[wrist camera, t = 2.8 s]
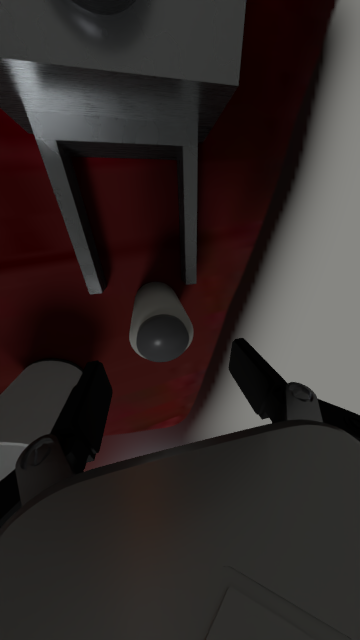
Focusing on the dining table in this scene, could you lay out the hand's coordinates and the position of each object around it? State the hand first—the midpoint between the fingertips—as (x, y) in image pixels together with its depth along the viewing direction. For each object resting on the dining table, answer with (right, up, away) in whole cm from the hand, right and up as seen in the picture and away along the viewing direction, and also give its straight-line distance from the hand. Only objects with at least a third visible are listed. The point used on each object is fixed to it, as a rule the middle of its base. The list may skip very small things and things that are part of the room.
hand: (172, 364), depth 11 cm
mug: (-19, -5, +12) cm, 23 cm away
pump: (-3, +6, +9) cm, 11 cm away
